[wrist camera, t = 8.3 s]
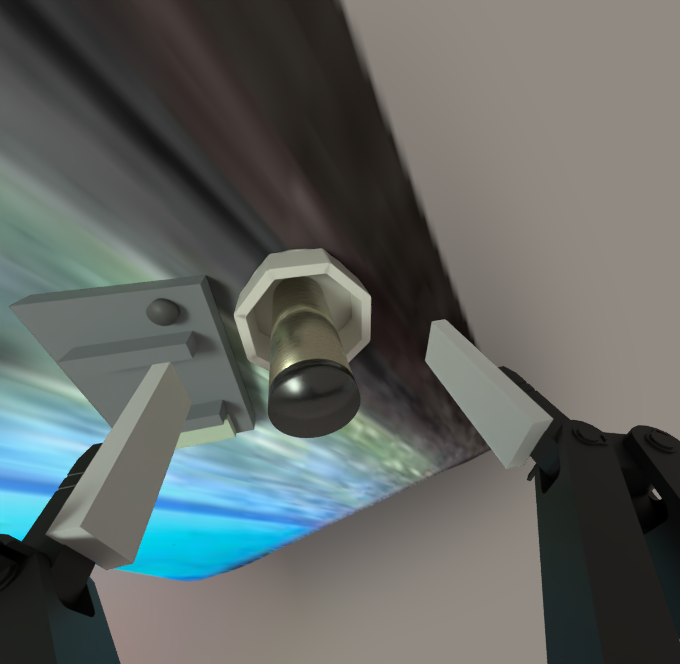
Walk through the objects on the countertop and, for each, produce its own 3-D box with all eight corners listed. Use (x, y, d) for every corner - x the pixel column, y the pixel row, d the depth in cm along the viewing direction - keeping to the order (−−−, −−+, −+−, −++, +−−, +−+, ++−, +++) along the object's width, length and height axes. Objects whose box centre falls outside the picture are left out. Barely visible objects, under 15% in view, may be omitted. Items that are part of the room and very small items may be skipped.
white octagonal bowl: (231, 255, 16) (220, 274, 13) (355, 242, 18) (371, 257, 15) (259, 355, 21) (256, 387, 18) (357, 340, 22) (369, 367, 19)
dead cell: (263, 287, 17) (249, 396, 9) (312, 267, 17) (344, 358, 9) (286, 328, 19) (293, 448, 11) (331, 310, 19) (370, 417, 11)
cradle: (30, 295, 15) (-18, 319, 13) (205, 275, 17) (193, 294, 14) (141, 437, 23) (124, 470, 21) (255, 416, 24) (252, 444, 22)
